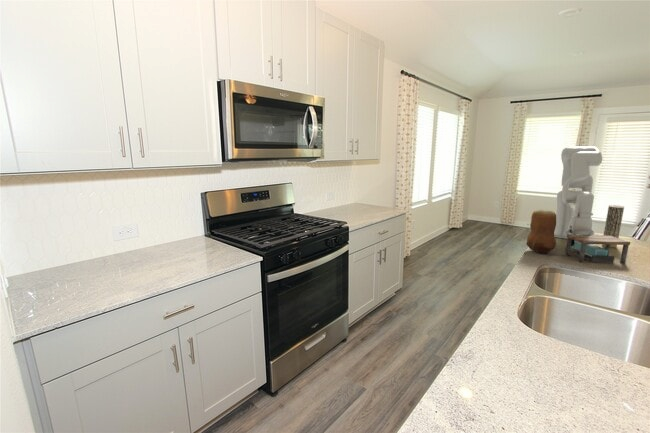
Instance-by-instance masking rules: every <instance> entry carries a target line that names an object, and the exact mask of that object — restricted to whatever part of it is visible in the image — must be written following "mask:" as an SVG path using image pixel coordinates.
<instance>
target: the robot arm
mask: <svg viewBox="0 0 650 433" xmlns="http://www.w3.org/2000/svg"><path fill="white" fill-rule="evenodd" d="M560 156H561V158H560V159H561V162H562V166H563V167H562V169H563V170H562V174H561V187H562V189H561V190H560V191H558V192H557V194H556V212H555V214H556V227H555V231H554V236H555V238H558V239H565V240H567V235H596V234H595V232H594V231H593V228H592V227H593V220H592V216H594V213H592V211H593V205H594V200H595V199H594V198H595V196H594V194H593V193H592V190H593V182H594V179H593V176H592V175H591V174H590V167H591V166H592V167H598V166H600V165H601V164H602V162H603V155H602V152H601V150H600V149H598V147H596V146H568V147H564V148H563V149H562V151H561V154H560ZM570 189H571V190H570ZM572 189H578V190H572ZM579 189H580V190H579ZM572 206H574V209H573V207H572ZM571 246H574V240H572V242H571Z"/></svg>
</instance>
